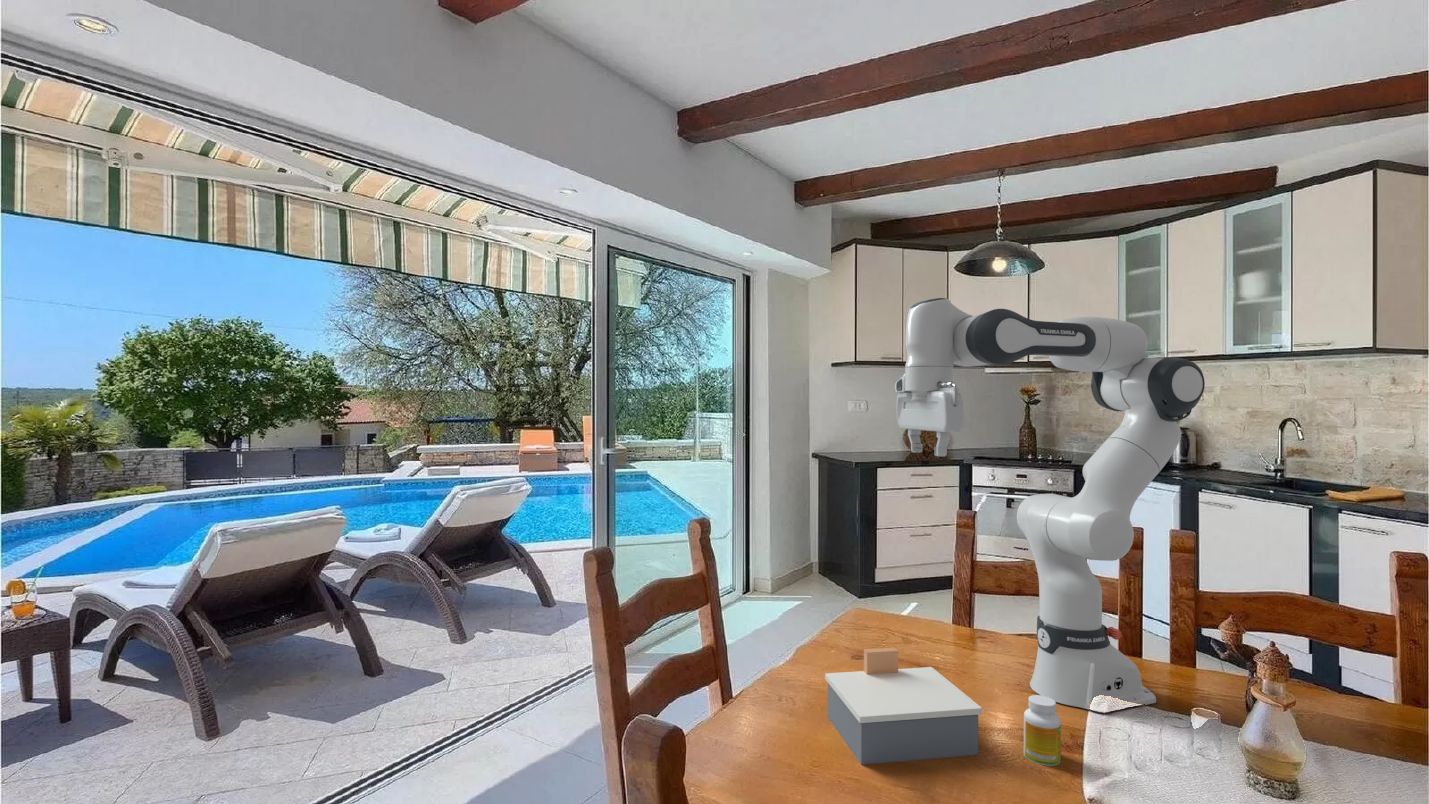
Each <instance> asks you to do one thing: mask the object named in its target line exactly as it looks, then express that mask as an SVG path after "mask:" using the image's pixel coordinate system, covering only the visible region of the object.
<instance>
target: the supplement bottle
mask: <svg viewBox="0 0 1429 804" xmlns="http://www.w3.org/2000/svg"><path fill="white" fill-rule="evenodd" d="M1027 704H1028V708H1027V709H1026V710H1025V711H1024V712H1023V755H1024V757H1025V758H1027V759H1028V760H1029V761H1031V762H1033V763H1035V764H1038V765H1043V766H1049V767H1050V766H1051V767H1052V766H1057V765H1060V764H1061V761H1062V760H1061V759H1062V758H1061V754H1062V751H1061V749H1062V748H1061V745H1062V744H1061V742H1062V741H1061V739H1062V738H1061V737H1062V736H1061V733H1062V729H1061V728H1062V721H1061V719H1060V717H1059V715H1058V714H1056V712H1057V702H1055V701H1054V700H1053V699H1051V698H1049V697H1046V696H1041V695H1039V694H1033V695H1030V696H1028V703H1027Z"/></svg>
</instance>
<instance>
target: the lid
mask: <svg viewBox="0 0 1429 804" xmlns="http://www.w3.org/2000/svg"><path fill="white" fill-rule="evenodd" d="M824 680H825V681H826V682H827V684H828V683H829V685H830V686H831V687H832V688H833V690H834V691H835V692H836V693H837V695H838V696H839V697H840V699H841V700H842V701H843V702H844V704H845V705H846V706H847V707H848V709H849V710H850V711H851V712H852V714H853V715H854V716H855V718H856V719H857V720H858V721H859V723H871V722H884V721H898V720H911V719H925V718H939V717H952V716H966V715H978V716H979V715H983V708H982V706H980V705H979V704H978V703H976V702H975V701H974V700H973V699H972V698H970V697H969V696H968V695H967V694H966V693H964V692H963V690H960V688H958V687H957V686H956V685H954V684H953V683H952V682H951V681H949V680H948V679H947V678H946V677H944V676H943V675H942V674H941V673H940V672H938V671H937V670H936V669H935V668H934V667H932V666H928V667H927V666H925V667H924V666H923V667H911V668H899V650H898V649H897V648H896V647H884V648H865V649H863V670H861V671H859V670H857V671H845V672H844V671H843V672H841V671H840V672H829V673H828V672H827V673H824Z"/></svg>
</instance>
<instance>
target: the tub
mask: <svg viewBox="0 0 1429 804" xmlns="http://www.w3.org/2000/svg"><path fill="white" fill-rule="evenodd" d="M827 718H828V720H829V721H830V723H831V724H832V726H833V727H834V728H835V729H836V731H837V732H838V734H839V735H840V737H841V738H842V740H843V742H845V744H846V745H847V747H848V748H849V749H850V751H851V753H852V754H853V755H854V757H855V758H856V760H857V761H858V763H859V764H860V765H861V766H862V765H863V766H864V765H876V764H885V763H899V762H908V761H912V762H913V761H922V760H932V759H944V758H945V759H946V758H947V759H948V758H957V757H958V758H959V757H969V756H979V715H966V716H952V717H939V718H925V719H911V720H898V721H884V722H871V723H859V721H858V720H857V719H856V718H855V716H854V715H853V714H852V712H851V711H850V710H849V709H848V707H847V706H846V705H845V704H844V702H843V701H842V700H841V699H840V697H839V696H838V695H837V693H836V692H835V691H834V690H833V688H832V687H831V686H830V685H829V683H828V682H827Z"/></svg>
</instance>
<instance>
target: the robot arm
mask: <svg viewBox="0 0 1429 804" xmlns="http://www.w3.org/2000/svg"><path fill="white" fill-rule="evenodd" d="M904 344H905V349H906V354H907V355H906V356H907V357H906V362H905V368H904V369H905V370H904V373H903V375H902V376H901V377H900V378H899V379H897V381H896V382H895V383H894V391H895V392H896V393H898V394H897V396H896V408H895V409H896V423H897V425H898V428H899V429H902V430H903V429H904V430H905V429H906V430H907V436H908V439H909V442H910V451H911V452H912V453H915V454H916V453H917V454H919V453H920V454H921V453H923V443H921V437H920V436H921V434H922V431H928V432H936V438H937V442H936V446H933V450H934V452H933V453H934V454H933V455H934V456H935V457H947V455H948V446H949V444H950V441H951V438H952V433H961V432H962V431H963V430H964V426H965V418H964V417H965V416H964V405H963V397H962V395H961V393H960V392H959V387H958V386H957V385H956V384H955V382H954V366H955V365H956V366H959V367H963V368H965V367H978V366H990V365H994V366H995V365H997V366H998V365H1002V366H1003V365H1007V364H1009V365H1010V364H1011V363H1014V362H1016V361H1019V360H1021V359H1022V358H1025V357H1027V356H1041V357H1042V356H1044V357H1045V356H1048V358H1049V361H1050V363H1052V365H1054V366H1055V367H1056V368H1059V369H1063V370H1067V371H1073V372H1083V373H1085V372H1086V373H1088V372H1089V373H1091V380H1090V386H1091V389H1090V390H1091V394H1092V396H1093V399H1094V401H1095V402H1096V403H1097V405H1099V406H1101V407H1102V408H1103V409H1107V410H1109V411H1114V412H1124V416H1123V420H1122V421H1121V423H1120V425H1119V427H1117V428H1116V429H1115V430H1114V431H1113V432H1112V433H1111V434H1110V435H1109V436H1108V438H1107V439H1106V440H1104V442H1103V443H1102V444H1101V445H1100V446H1099V448H1098V449H1097V450H1096V451H1095V452H1094V453H1093V454H1092V455H1091V456H1090V458H1088V460H1087V461H1086V462H1085V463H1084V465H1083V467H1082V477H1083V478H1084V481H1085V482H1084V484H1083V487H1082V489H1081V490H1080V492H1079V493H1078V494H1076V495H1075V496H1073V497H1070V496H1066V495H1061V494H1056V493H1040V494H1033V495H1032V494H1031V495H1030V496H1027V497H1026V498H1024V499H1023V500H1022V501H1021V502H1020V503H1019V506H1018V508H1017V510H1016V511H1017V512H1016V522H1017V525H1018V528H1019V530H1020V531H1021V533H1023V535H1024V536H1025V539H1027V542H1028V544H1029V548H1030V550H1031V553H1032V557H1033V559H1034V562H1035V568H1036V571H1037V578H1038V587H1039V588H1038V590H1039V591H1038V593H1039V596H1038V597H1039V598H1038V599H1039V607H1038V608H1039V615H1038V616H1037V618H1036V638H1037V640H1036V641H1037V652H1036V653H1037V654H1036V659H1035V665H1034V669H1033V672H1032V676H1031V680H1030V681H1029V686H1030V688H1031V689H1032V691H1034V692H1035V693H1036V694H1037V695H1041V696H1046V697H1049V698H1051V699H1053V700H1054V701H1055V702H1056V703H1059V704H1062V705H1066V706H1071V707H1077V708H1082V709H1086V710H1088V711H1090V710H1089V708H1090V704H1091V702H1092V700H1093V698H1094V697H1096V696H1099V695H1104V696H1111V697H1113V698H1118V699H1120V700H1123V701H1127V702H1134V703H1139V704H1145V705H1144V706H1147V705H1151V704H1156V703H1157V697H1156V695H1155V694H1154V693H1153V692H1152V691H1151V690H1150V689H1148V688H1147V687H1145V686H1144V685H1142V683H1143V682H1142V676H1141V673H1140V669H1139V668H1138V666H1137V665H1136V664H1135V663H1134V662H1133V660H1131V659H1130V658H1129V657H1127V656H1126V655H1125V654H1123V653H1122V652H1121V651H1120V650H1119V649H1117V648H1116V647H1115V646H1114V645H1112V644H1111V641H1110V639H1109V638H1112V639H1114V640H1115V641H1118V640H1120V639H1121V638H1122V634H1123V633H1122V631H1121V630H1120V629H1118V628H1115V627H1113V626H1109V627H1107V626H1106V625H1104V624H1103V589H1102V586H1101V583H1100V581H1099V579H1098V578H1097V577H1096V576H1095V575H1094V573H1093V571H1092V570H1091V568H1090V566H1089V563H1088V560H1091V561H1103V562H1104V561H1106V562H1110V561H1111V562H1113V561H1117V560H1120V559H1122V558H1123V557H1124V556H1125V555H1127V554H1128V553H1129V551H1130V549H1132V546H1133V544H1134V538H1135V537H1134V536H1135V532H1134V526H1133V525H1132V521H1131V512H1132V511H1133V508H1134V505H1135V503H1136V502H1137V500H1138V498H1139V497H1140V496H1141V495H1142V493H1143V492H1144V491H1145V489H1146V488H1147V487H1149V485H1150V484H1151V482H1152V481H1153V480H1154V479H1155V477H1157V476H1158V474H1159V473H1160V472H1161V471H1162V469H1163V468H1164V467H1165V466H1166V464H1167V463H1168V462H1169V460H1170V459H1171V457H1172V455H1173V454H1174V452H1175V451H1176V449H1177V447H1178V446H1179V443H1180V441H1181V439H1182V430H1181V428H1180V425H1179V423H1178V422H1179V421H1181V420H1184V419H1185V418H1187V417H1189V416H1190V415H1191V413H1192V410H1193V409H1194V408H1195V407H1196V406H1197V404H1198V403H1199V402H1200V400H1201V399H1202V396H1203V394H1204V390H1205V388H1206V387H1205V386H1206V385H1205V382H1206V381H1205V377H1204V373H1203V371H1202V369H1201V368H1200V367H1199V365H1197V363H1195V362H1193V361H1191V360H1188V359H1185V358H1182V357H1181V358H1180V357H1173V356H1172V357H1169V356H1168V357H1164V358H1163V357H1161V358H1160V357H1149V355H1148V353H1147V351H1148V346H1149V341H1148V337H1147V334H1146V333H1145V331H1144V330H1143V329H1142V327H1140V326H1139V325H1137V324H1135V323H1133V322H1128V321H1125V320H1122V319H1116V318H1115V319H1114V318H1109V317H1095V316H1078V317H1077V316H1076V317H1070V318H1065V319H1060V320H1058V321H1042V320H1041V321H1040V320H1034V319H1030V318H1028V317H1025V316H1023V315H1021V314H1020V313H1017V312H1015V311H1013V310H1011V309H1006V308H995V309H991V310H988V311H986V312H984V313H980V314H976V315H972V314H970V313H966V312H965V311H963V310H961V309H959V308H958V307H957V306H955V305H954V304H953V303H952V302H951V300H950V298H945V297H937V298H932V299H926V300H922V301H919V302H915V304H912V306H911V307H910V308H909V309H908V312H907V317H906V324H905V343H904Z"/></svg>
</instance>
